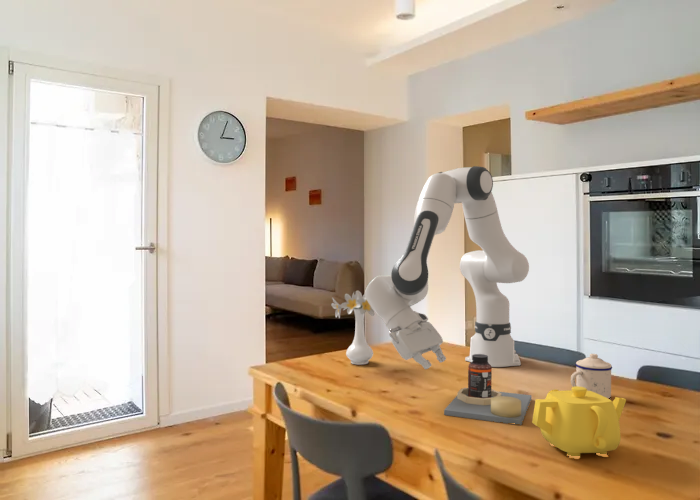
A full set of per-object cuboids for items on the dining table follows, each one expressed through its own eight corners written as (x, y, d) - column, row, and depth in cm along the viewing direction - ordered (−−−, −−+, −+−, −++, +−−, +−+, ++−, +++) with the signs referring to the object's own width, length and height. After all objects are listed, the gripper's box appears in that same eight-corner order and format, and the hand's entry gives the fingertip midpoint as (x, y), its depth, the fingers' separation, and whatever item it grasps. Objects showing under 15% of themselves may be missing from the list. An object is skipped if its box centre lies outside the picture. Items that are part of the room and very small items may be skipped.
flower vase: (326, 362, 188) (326, 290, 187) (370, 357, 197) (371, 288, 197) (344, 370, 177) (344, 294, 176) (391, 364, 186) (391, 291, 185)
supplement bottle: (492, 402, 138) (492, 358, 137) (468, 401, 139) (468, 357, 139) (490, 396, 144) (491, 353, 143) (467, 394, 145) (468, 352, 145)
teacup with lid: (593, 390, 153) (594, 349, 153) (619, 399, 144) (620, 356, 144) (559, 394, 149) (559, 352, 149) (584, 404, 140) (584, 359, 140)
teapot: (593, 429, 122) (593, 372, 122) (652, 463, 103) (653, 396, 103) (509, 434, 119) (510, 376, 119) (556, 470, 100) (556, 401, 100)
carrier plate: (464, 391, 152) (464, 376, 152) (531, 399, 144) (531, 384, 144) (444, 414, 132) (444, 397, 132) (521, 425, 124) (521, 407, 124)
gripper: (393, 322, 143) (427, 364, 138) (427, 313, 160) (458, 350, 155) (379, 337, 146) (411, 379, 141) (414, 327, 163) (444, 364, 158)
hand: (436, 364), depth 148 cm, fingers open, 8 cm apart
